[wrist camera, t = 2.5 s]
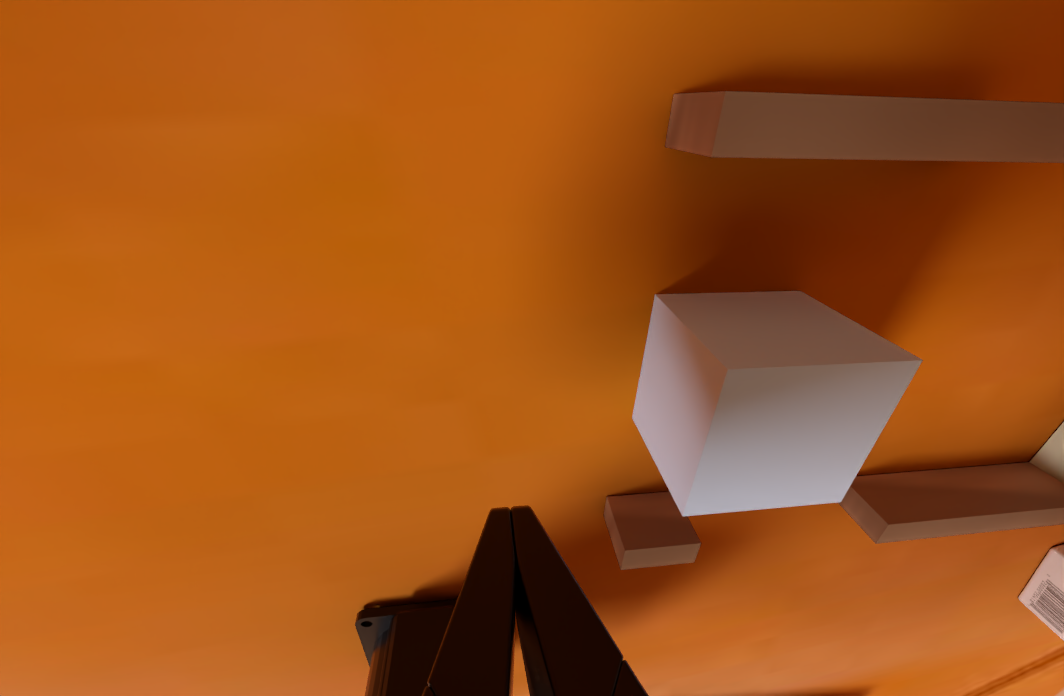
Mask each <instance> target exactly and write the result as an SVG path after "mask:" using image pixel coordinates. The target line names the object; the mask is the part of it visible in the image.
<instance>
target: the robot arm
mask: <svg viewBox="0 0 1064 696" xmlns="http://www.w3.org/2000/svg"><path fill="white" fill-rule="evenodd" d="M515 610H516V619H517V626H518V632H519V638H520V643H521V649H522V654H523V660H524V665H525V671H526V676H527V682H528V688H529V693H530V696H648V694H647V693H646V691H645V689H644V688H643V686H642V685H641V683H640V682H639V680H638V679H637V677H636V675H635V674H634V672H633V671H632V669H631V667H630V666H629V664H628V663H627V661H626V660H623V655H622V653H621V652H620V650H619V648H618V647H617V645H616V644H615V642H614V640H613V639H612V637H611V636H610V634H609V632H608V631H607V629H606V628H605V626H604V624H603V623H602V621H601V619H600V618H599V616H598V615H597V613H596V611H595V610H594V608H593V607H592V605H591V603H590V602H589V600H588V599H587V597H586V595H585V594H584V592H583V591H582V589H581V587H580V586H579V584H578V582H577V581H576V579H575V578H574V576H573V574H572V573H571V571H570V570H569V568H568V566H567V565H566V563H565V562H564V560H563V558H562V557H561V555H560V554H559V552H558V550H557V549H556V547H555V545H554V544H553V542H552V541H551V539H550V537H549V536H548V534H547V533H546V531H545V529H544V528H543V526H542V525H541V523H540V521H539V520H538V518H537V516H536V515H535V513H534V512H533V510H532V509H531V507H529V506H514V507H512V508H511V510H510V509H509V508H508V507H502V508H493V509H491V510H490V512H489V515H488V517H487V520H486V523H485V526H484V528H483V531H482V534H481V536H480V539H479V542H478V545H477V547H476V550H475V553H474V556H473V558H472V561H471V564H470V567H469V569H468V572H467V575H466V578H465V580H464V583H463V586H462V588H461V591H460V594H459V597H458V599H456V600H446V601H437V602H428V603H418V604H409V605H400V606H390V607H381V608H372V609H365V610H361V611H360V612H359V613H358V614H357V618H356V623H355V626H356V629H357V632H358V634H359V637H360V640H361V643H362V646H363V649H364V652H365V655H366V658H367V660H368V663H369V666H370V670H369V676H368V681H367V687H366V692H365V696H513V671H514V647H515Z"/></svg>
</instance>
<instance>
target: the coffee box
mask: <svg viewBox="0 0 1064 696" xmlns="http://www.w3.org/2000/svg"><path fill="white" fill-rule="evenodd" d="M1018 599H1019V600H1020V601H1021V602H1022V603H1023V604H1024V605H1025V606H1026V607H1027V608H1028V609H1029V610H1031V611H1032V612H1033V613H1034V614H1035V615H1036V616H1037V617H1038V618H1039V619H1040V620H1041V621H1043V622H1044V623H1045V624H1046V625H1047V626H1048V627H1049V628H1050V629H1051V630H1053V631H1054V632H1055V633H1056V634H1057V635H1058V636H1059V637H1060V638H1061V639H1062V640H1063V641H1064V544H1063V545H1059V546H1056V547H1053V548H1051V549H1050V550H1049V552H1048V553H1047V555H1046V556H1045V558H1044V559H1043V561H1042V562H1041V564H1040V565H1039V567H1038V568H1037V570H1036V572H1035V573H1034V575H1033V576H1032V578H1031V579H1030V581H1029V582H1028V584H1027V585H1026V587H1025V588H1024V590H1023V591H1022V592H1021V594H1020V596H1019V597H1018Z"/></svg>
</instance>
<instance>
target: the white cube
mask: <svg viewBox="0 0 1064 696" xmlns="http://www.w3.org/2000/svg"><path fill="white" fill-rule="evenodd" d="M922 361H923V360H922V359H920V358H918V357H916V356H915V355H913V354H911V353H909V352H907V351H906V350H904V349H902V348H900V347H899V346H897V345H895V344H893V343H892V342H890V341H888V340H886V339H885V338H883V337H881V336H879V335H877V334H876V333H874V332H872V331H870V330H869V329H867V328H865V327H863V326H862V325H860V324H858V323H856V322H854V321H853V320H851V319H849V318H847V317H846V316H844V315H842V314H840V313H839V312H837V311H835V310H833V309H831V308H830V307H828V306H826V305H824V304H823V303H821V302H819V301H817V300H816V299H814V298H812V297H810V296H809V295H807V294H805V293H803V292H801V291H768V292H726V293H685V294H655V298H654V303H653V308H652V314H651V319H650V325H649V330H648V335H647V341H646V346H645V352H644V357H643V362H642V368H641V373H640V379H639V384H638V389H637V395H636V400H635V406H634V411H633V416H632V418H633V420H634V422H635V424H636V426H637V428H638V430H639V432H640V434H641V436H642V438H643V440H644V442H645V444H646V446H647V448H648V450H649V452H650V454H651V456H652V458H653V460H654V462H655V464H656V465H657V467H658V469H659V471H660V473H661V475H662V477H663V479H664V481H665V483H666V485H667V487H668V489H669V491H670V493H671V495H672V497H673V499H674V501H675V503H676V505H677V507H678V509H679V511H680V512H681V514H682V516H694V515H705V514H716V513H727V512H738V511H749V510H760V509H771V508H782V507H793V506H804V505H815V504H826V503H837V502H841V501H842V499H843V498H844V496H845V494H846V492H847V491H848V489H849V487H850V486H851V484H852V482H853V480H854V479H855V477H856V475H857V473H858V472H859V470H860V468H861V466H862V465H863V463H864V461H865V459H866V458H867V456H868V454H869V453H870V451H871V449H872V447H873V446H874V444H875V442H876V440H877V439H878V437H879V435H880V433H881V432H882V430H883V428H884V427H885V425H886V423H887V421H888V420H889V418H890V416H891V414H892V413H893V411H894V409H895V407H896V406H897V404H898V402H899V400H900V399H901V397H902V395H903V394H904V392H905V390H906V388H907V387H908V385H909V383H910V381H911V380H912V378H913V376H914V374H915V373H916V371H917V369H918V368H919V366H920V364H921V362H922Z"/></svg>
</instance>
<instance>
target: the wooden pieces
mask: <svg viewBox="0 0 1064 696" xmlns="http://www.w3.org/2000/svg"><path fill="white" fill-rule="evenodd" d="M665 147H667V148H671V149H676V150H680V151H685V152H690V153H694V154H699V155H703V156H708V157H729V158H791V159H853V160H915V161H977V162H1040V163H1064V103H1046V102H1018V101H990V100H962V99H934V98H907V97H879V96H851V95H823V94H795V93H767V92H739V91H717V92H699V93H681V94H674V95H673V101H672V107H671V113H670V119H669V125H668V131H667V137H666V143H665ZM838 503H839V504H840V505H841V506H842V507H843V509H844V510H845V511H846V512H847V513H848V514H849V515H850V516H851V517H852V518H853V519H854V521H855V522H856V523H857V524H858V525H859V526H860V527H861V528H862V529H863V530H864V531H865V533H866V534H867V535H868V536H869V537H870V538H871V539H872V540H873V541H874V542H875V543H876V544H877V543H887V542H896V541H906V540H916V539H925V538H935V537H945V536H954V535H964V534H974V533H983V532H993V531H1003V530H1012V529H1022V528H1031V527H1041V526H1051V525H1060V524H1064V422H1063V423H1062V424H1061V425H1060V427H1059V428H1058V429H1057V430H1056V431H1055V433H1054V434H1053V435H1052V436H1051V437H1050V438H1049V440H1048V441H1047V442H1046V443H1045V444H1044V446H1043V447H1042V448H1041V449H1040V450H1039V451H1038V453H1037V454H1036V455H1035V456H1034V457H1033V458H1032V460H1031V461H1030V462H1024V463H1012V464H999V465H987V466H975V467H963V468H951V469H939V470H926V471H914V472H902V473H890V474H878V475H866V476H856V477H855V479H854V480H853V482H852V484H851V486H850V487H849V489H848V491H847V492H846V494H845V496H844V498H843V499H842V501H841V502H838ZM604 519H605V522H606V525H607V528H608V531H609V534H610V538H611V541H612V544H613V547H614V550H615V553H616V556H617V560H618V563H619V566H620V569H621V570H626V569H636V568H646V567H655V566H665V565H675V564H684V563H694V562H695V559H696V556H697V553H698V551H699V548H700V545H701V542H700V540H699V538H698V536H697V534H696V532H695V530H694V528H693V527H692V525H691V523H690V521H689V519H688V517H687V516H682V514H681V512H680V511H679V509H678V507H677V505H676V503H675V501H674V499H673V497H672V495H671V493H670V492H659V493H646V494H634V495H622V496H610V497H607V498H606V504H605V510H604Z"/></svg>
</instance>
